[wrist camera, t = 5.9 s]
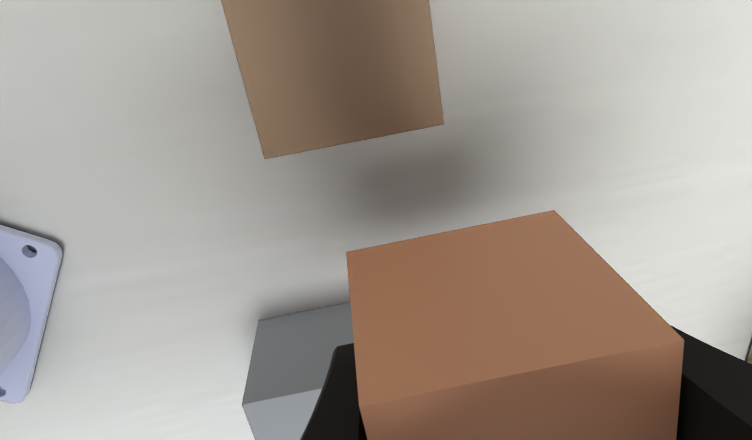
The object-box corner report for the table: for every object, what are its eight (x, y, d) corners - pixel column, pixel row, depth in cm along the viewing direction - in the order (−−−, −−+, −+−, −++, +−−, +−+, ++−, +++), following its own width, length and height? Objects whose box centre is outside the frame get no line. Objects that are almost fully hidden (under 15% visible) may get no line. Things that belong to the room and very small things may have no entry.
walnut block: (278, 117, 19) (264, 158, 15) (240, -36, 17) (209, -42, 13) (415, 90, 19) (443, 124, 15) (393, -65, 17) (418, -82, 13)
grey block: (288, 407, 25) (279, 503, 20) (258, 319, 23) (241, 404, 18) (394, 385, 25) (409, 477, 20) (374, 295, 23) (386, 374, 18)
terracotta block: (382, 409, 15) (409, 603, 10) (346, 251, 13) (358, 406, 8) (561, 373, 15) (666, 550, 10) (553, 210, 13) (684, 340, 8)
